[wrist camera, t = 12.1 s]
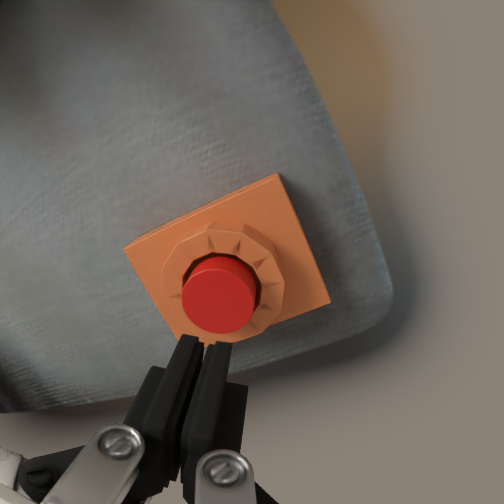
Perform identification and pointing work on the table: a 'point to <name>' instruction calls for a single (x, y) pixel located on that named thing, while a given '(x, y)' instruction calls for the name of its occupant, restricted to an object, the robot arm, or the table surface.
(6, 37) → the table surface
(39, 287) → the table surface
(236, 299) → the button
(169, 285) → the button block
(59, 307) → the table surface
